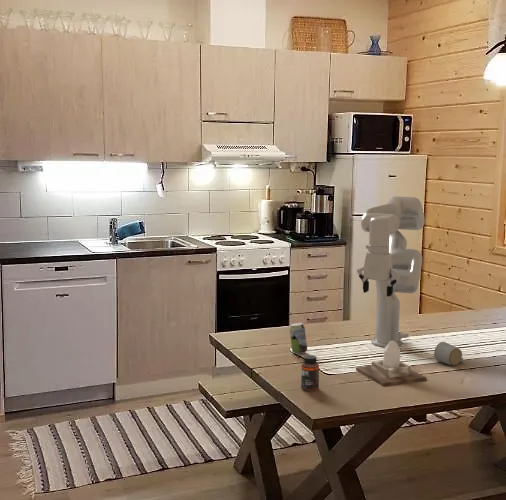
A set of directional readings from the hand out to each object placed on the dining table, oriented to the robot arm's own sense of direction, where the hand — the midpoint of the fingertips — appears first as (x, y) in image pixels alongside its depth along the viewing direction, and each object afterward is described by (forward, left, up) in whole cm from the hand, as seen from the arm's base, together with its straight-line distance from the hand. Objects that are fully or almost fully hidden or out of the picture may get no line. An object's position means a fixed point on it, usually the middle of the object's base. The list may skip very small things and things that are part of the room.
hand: (377, 293), depth 264 cm
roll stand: (+4, +17, -26) cm, 31 cm away
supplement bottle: (+38, +20, -26) cm, 51 cm away
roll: (+4, +17, -25) cm, 31 cm away
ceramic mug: (-25, +13, -26) cm, 39 cm away
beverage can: (+24, -18, -26) cm, 40 cm away
